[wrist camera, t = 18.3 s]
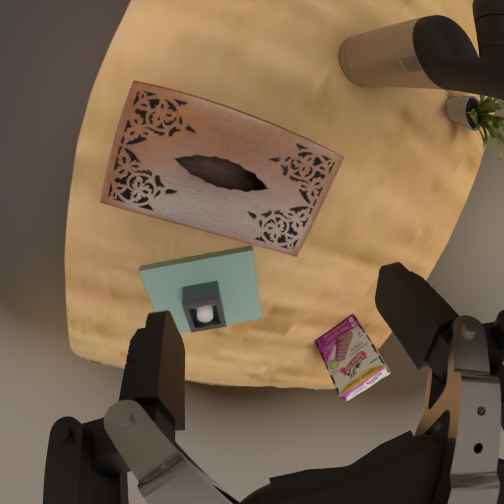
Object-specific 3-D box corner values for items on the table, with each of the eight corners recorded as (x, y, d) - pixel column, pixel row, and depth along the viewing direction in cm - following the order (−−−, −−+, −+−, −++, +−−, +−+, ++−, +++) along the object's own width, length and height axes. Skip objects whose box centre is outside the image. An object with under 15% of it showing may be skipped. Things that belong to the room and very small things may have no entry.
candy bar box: (352, 312, 58) (386, 365, 44) (359, 322, 61) (392, 372, 47) (312, 340, 60) (338, 397, 46) (322, 348, 63) (347, 402, 49)
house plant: (434, 151, 42) (497, 175, 28) (421, 83, 35) (490, 90, 21) (471, 137, 42) (526, 157, 28) (461, 78, 35) (521, 87, 21)
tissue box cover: (121, 181, 37) (100, 202, 28) (150, 88, 31) (133, 80, 22) (277, 226, 45) (296, 256, 36) (313, 145, 39) (344, 157, 31)
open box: (217, 280, 46) (220, 299, 41) (223, 307, 49) (226, 326, 44) (182, 286, 45) (182, 305, 41) (191, 312, 48) (191, 332, 44)
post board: (251, 245, 45) (259, 266, 40) (259, 313, 53) (267, 336, 47) (140, 266, 44) (133, 289, 38) (165, 329, 51) (163, 353, 45)
